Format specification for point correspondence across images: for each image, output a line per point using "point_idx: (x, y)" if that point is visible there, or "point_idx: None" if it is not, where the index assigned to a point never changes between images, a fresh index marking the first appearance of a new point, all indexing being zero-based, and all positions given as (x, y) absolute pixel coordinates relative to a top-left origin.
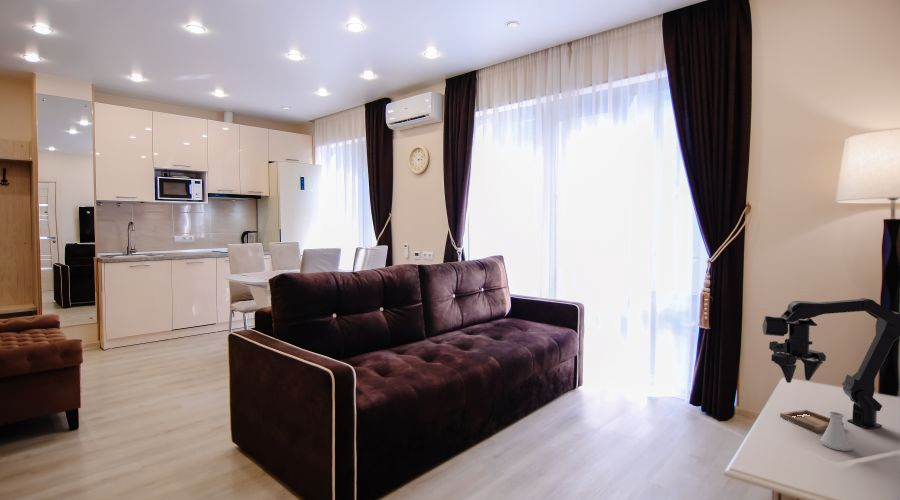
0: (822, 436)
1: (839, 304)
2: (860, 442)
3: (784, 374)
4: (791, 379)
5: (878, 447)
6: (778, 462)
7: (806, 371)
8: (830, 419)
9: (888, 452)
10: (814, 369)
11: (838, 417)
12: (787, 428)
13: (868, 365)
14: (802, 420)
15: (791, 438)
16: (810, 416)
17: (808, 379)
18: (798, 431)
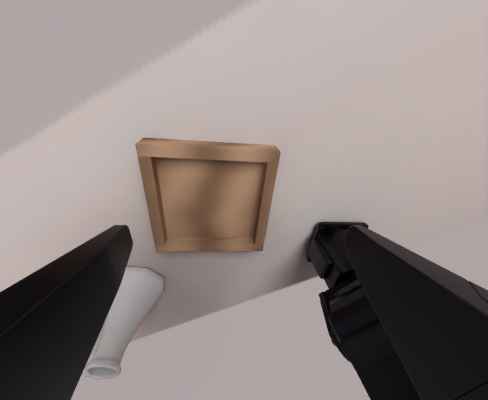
0: None
1: None
2: (211, 282)
3: (29, 286)
4: (114, 284)
5: (220, 298)
6: None
7: (408, 290)
8: (102, 342)
9: (213, 309)
10: (412, 381)
11: (99, 369)
12: (100, 198)
13: None
14: (192, 188)
15: (55, 240)
16: (255, 175)
17: (346, 248)
18: (118, 219)
